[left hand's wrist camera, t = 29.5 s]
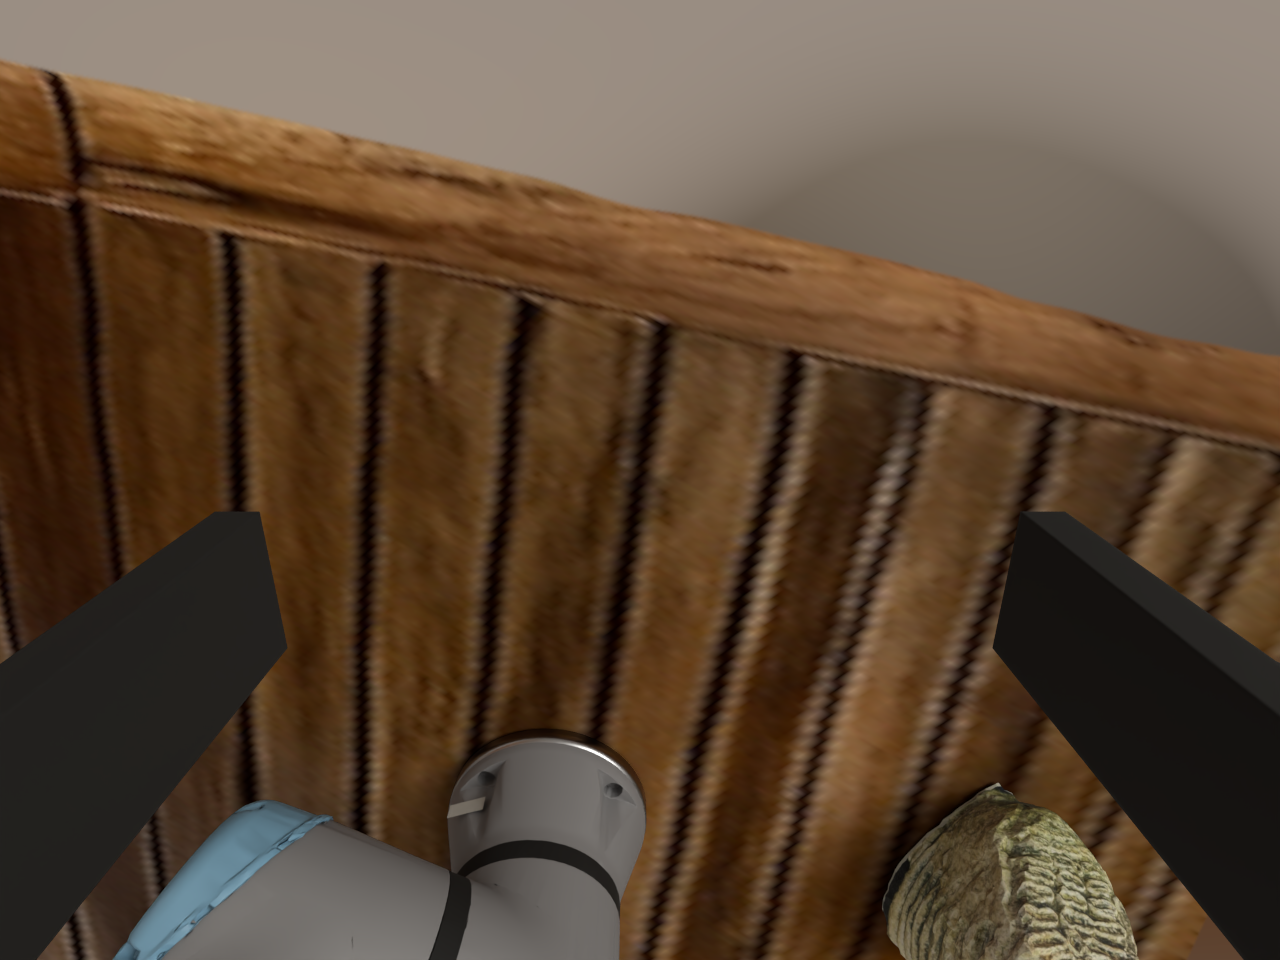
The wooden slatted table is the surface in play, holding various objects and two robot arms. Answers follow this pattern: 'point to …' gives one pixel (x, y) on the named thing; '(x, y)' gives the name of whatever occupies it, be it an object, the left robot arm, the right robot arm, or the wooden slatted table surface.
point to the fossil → (1004, 890)
